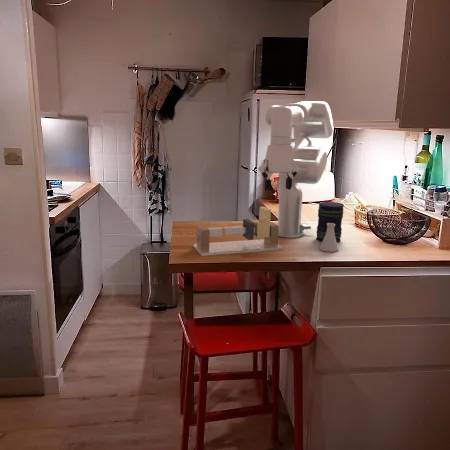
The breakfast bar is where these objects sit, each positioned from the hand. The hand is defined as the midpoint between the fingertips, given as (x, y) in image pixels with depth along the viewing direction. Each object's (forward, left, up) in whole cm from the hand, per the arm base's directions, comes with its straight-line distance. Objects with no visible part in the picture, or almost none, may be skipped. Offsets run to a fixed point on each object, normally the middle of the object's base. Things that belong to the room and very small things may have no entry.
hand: (278, 189), depth 165 cm
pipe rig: (+15, 0, -22) cm, 27 cm away
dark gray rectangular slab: (+12, 0, -18) cm, 21 cm away
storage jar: (-24, -2, -22) cm, 33 cm away
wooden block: (+6, 0, -18) cm, 19 cm away
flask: (-18, +10, -22) cm, 30 cm away
